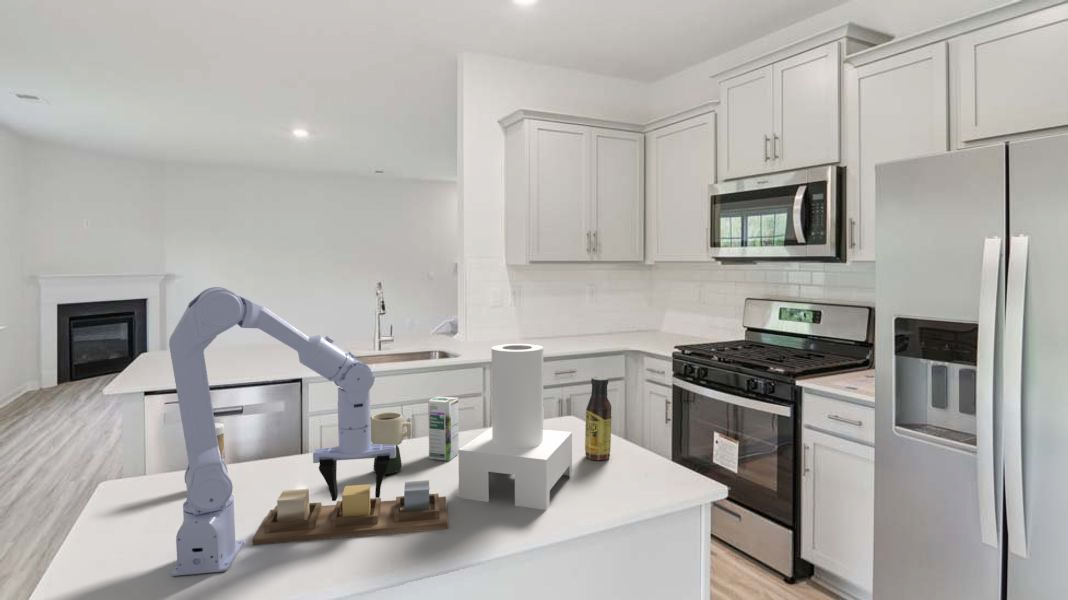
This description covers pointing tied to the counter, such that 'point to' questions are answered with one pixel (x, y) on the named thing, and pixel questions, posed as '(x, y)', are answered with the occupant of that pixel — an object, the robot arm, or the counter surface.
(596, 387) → the sauce bottle
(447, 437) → the syrup box
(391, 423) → the character mug
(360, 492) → the ochre block
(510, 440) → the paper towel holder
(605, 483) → the counter surface
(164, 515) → the counter surface
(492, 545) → the counter surface
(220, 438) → the sprinkles bottle
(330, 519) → the puzzle board
